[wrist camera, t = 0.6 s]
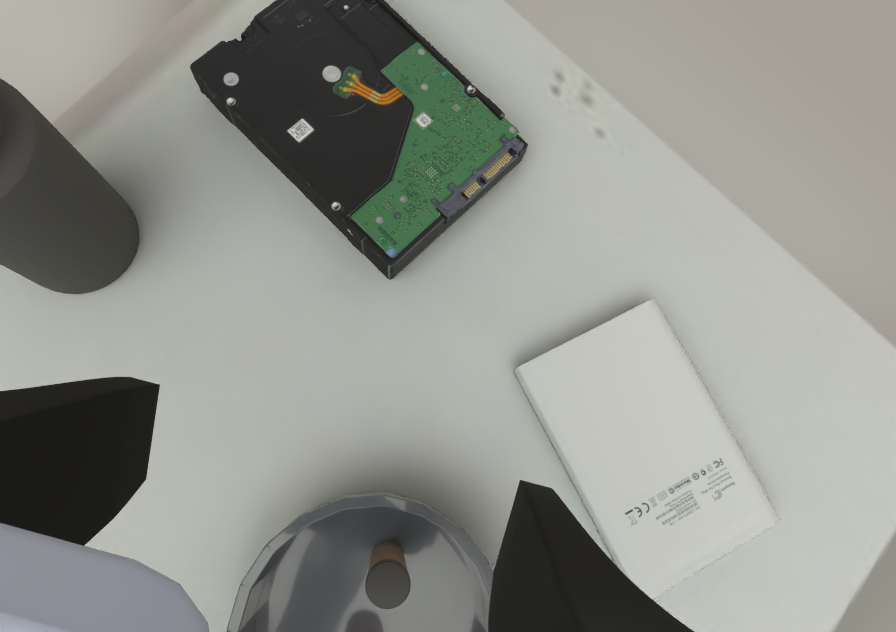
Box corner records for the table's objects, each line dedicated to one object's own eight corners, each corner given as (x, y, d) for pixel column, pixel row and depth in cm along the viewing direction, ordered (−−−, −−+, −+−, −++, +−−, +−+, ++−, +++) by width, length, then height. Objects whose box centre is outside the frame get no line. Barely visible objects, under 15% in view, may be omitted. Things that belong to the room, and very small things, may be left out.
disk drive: (199, 98, 36) (392, 285, 35) (183, 67, 34) (392, 269, 32) (338, -13, 39) (525, 159, 37) (334, -49, 36) (536, 134, 34)
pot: (461, 782, 30) (472, 829, 26) (212, 723, 30) (186, 761, 26) (515, 524, 33) (533, 531, 29) (288, 467, 32) (275, 467, 29)
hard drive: (644, 303, 36) (767, 518, 34) (511, 371, 34) (631, 599, 32) (655, 295, 34) (785, 520, 32) (517, 366, 33) (644, 606, 31)
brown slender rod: (399, 580, 31) (404, 614, 24) (365, 572, 31) (359, 603, 24) (408, 544, 32) (415, 567, 24) (374, 536, 32) (372, 556, 24)
